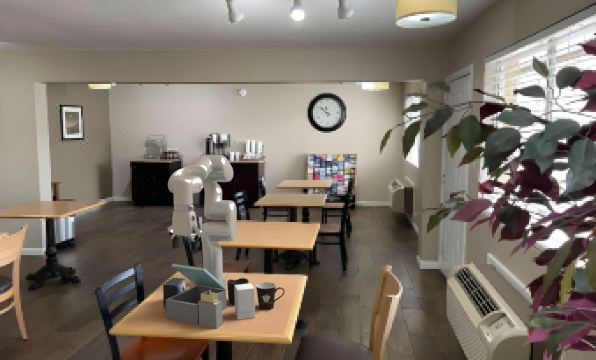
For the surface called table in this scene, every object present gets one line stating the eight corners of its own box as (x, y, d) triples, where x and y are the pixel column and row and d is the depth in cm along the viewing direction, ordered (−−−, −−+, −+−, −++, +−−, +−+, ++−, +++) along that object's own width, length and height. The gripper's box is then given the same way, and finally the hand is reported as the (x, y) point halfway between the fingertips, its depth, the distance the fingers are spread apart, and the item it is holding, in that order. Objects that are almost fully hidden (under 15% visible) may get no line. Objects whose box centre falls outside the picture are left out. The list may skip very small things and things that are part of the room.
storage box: (196, 302, 222) (195, 281, 221) (243, 311, 211) (243, 289, 210) (166, 318, 204) (165, 295, 203) (216, 328, 193) (215, 304, 192)
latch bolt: (205, 298, 199) (205, 288, 198) (217, 300, 196) (217, 290, 196) (200, 300, 196) (200, 290, 196) (213, 303, 193) (213, 292, 193)
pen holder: (234, 297, 228) (233, 276, 227) (252, 300, 225) (251, 278, 223) (223, 304, 219) (223, 283, 218) (242, 307, 216) (242, 285, 215)
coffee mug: (253, 309, 213) (252, 287, 212) (261, 303, 221) (261, 281, 220) (277, 313, 209) (277, 290, 208) (285, 306, 217) (285, 284, 216)
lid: (195, 285, 221) (196, 283, 222) (226, 290, 214) (227, 288, 215) (171, 265, 206) (172, 263, 207) (203, 270, 199) (204, 268, 200)
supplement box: (255, 318, 204) (254, 288, 202) (237, 320, 202) (236, 290, 200) (252, 311, 211) (251, 282, 210) (234, 313, 209) (234, 284, 207)
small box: (176, 308, 215) (175, 285, 214) (162, 307, 217) (162, 284, 216) (186, 300, 226) (186, 277, 225) (173, 299, 227) (172, 277, 226)
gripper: (206, 208, 201) (207, 249, 203) (173, 205, 209) (175, 245, 211) (194, 211, 195) (195, 253, 196) (161, 208, 203) (162, 248, 204)
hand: (185, 249), depth 204 cm, fingers open, 9 cm apart
